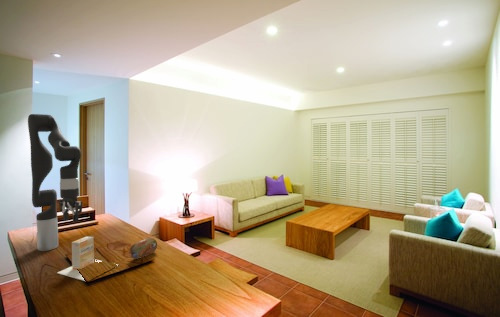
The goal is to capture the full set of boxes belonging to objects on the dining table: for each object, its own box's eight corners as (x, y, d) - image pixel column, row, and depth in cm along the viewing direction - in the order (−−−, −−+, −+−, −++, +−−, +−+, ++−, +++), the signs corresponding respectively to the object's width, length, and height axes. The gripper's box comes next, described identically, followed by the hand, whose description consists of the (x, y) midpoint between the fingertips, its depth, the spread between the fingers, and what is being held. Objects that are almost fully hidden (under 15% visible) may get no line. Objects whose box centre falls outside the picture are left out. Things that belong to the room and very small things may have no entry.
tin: (132, 262, 130) (131, 245, 129) (128, 260, 131) (128, 244, 131) (157, 251, 142) (157, 236, 142) (153, 250, 144) (153, 235, 143)
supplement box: (80, 270, 120) (79, 243, 119) (72, 269, 121) (70, 242, 120) (94, 262, 128) (93, 236, 127) (86, 261, 129) (85, 235, 128)
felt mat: (57, 273, 118) (57, 272, 118) (90, 258, 133) (90, 258, 133) (87, 282, 111) (87, 281, 111) (119, 265, 126) (118, 264, 126)
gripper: (51, 187, 124) (53, 221, 125) (71, 189, 119) (73, 225, 120) (67, 185, 131) (68, 217, 132) (87, 187, 126) (88, 220, 127)
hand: (70, 221), depth 126 cm, fingers open, 6 cm apart
